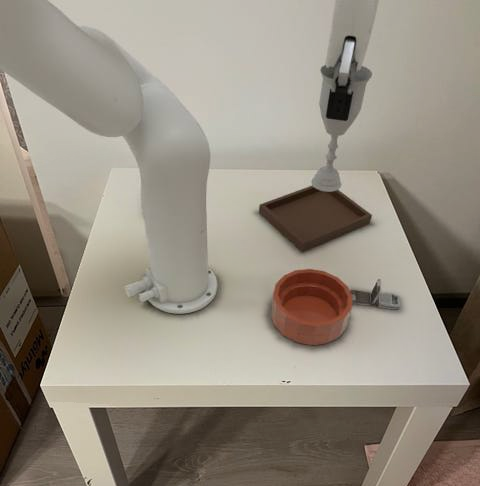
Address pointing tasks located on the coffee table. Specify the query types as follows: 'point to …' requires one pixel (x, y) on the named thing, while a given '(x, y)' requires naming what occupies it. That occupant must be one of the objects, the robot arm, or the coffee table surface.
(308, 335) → the bowl
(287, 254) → the coffee table surface
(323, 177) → the chalice
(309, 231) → the tray
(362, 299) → the strap clip
